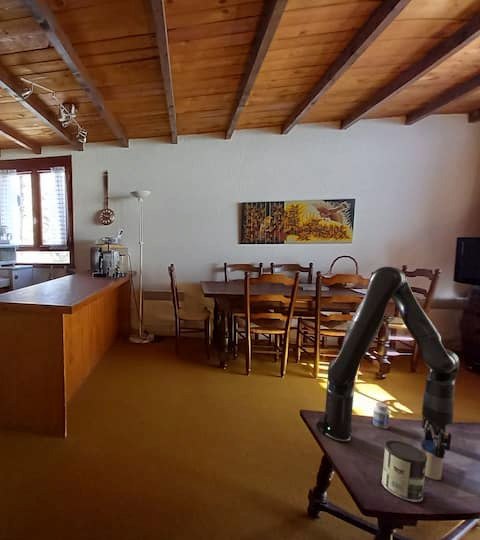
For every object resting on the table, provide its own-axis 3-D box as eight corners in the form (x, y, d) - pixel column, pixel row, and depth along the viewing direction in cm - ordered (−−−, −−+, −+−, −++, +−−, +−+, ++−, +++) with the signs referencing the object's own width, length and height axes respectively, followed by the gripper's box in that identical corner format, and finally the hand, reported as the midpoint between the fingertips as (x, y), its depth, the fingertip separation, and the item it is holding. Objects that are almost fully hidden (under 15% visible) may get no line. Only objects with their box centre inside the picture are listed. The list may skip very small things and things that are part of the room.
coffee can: (417, 485, 103) (421, 446, 102) (427, 507, 95) (432, 465, 93) (378, 472, 109) (381, 436, 107) (384, 493, 100) (388, 453, 99)
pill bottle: (382, 422, 139) (384, 402, 138) (391, 429, 134) (393, 408, 133) (369, 421, 140) (371, 401, 139) (378, 428, 135) (380, 407, 134)
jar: (423, 476, 107) (426, 448, 106) (417, 466, 112) (419, 439, 111) (444, 482, 105) (447, 453, 104) (436, 471, 110) (439, 444, 109)
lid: (425, 452, 106) (426, 447, 106) (418, 442, 111) (419, 438, 111) (448, 457, 104) (448, 452, 103) (439, 447, 109) (440, 442, 109)
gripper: (414, 394, 114) (411, 435, 116) (433, 413, 101) (429, 460, 103) (442, 398, 111) (437, 441, 112) (464, 419, 98) (459, 467, 99)
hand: (433, 450), depth 108 cm, fingers open, 7 cm apart
